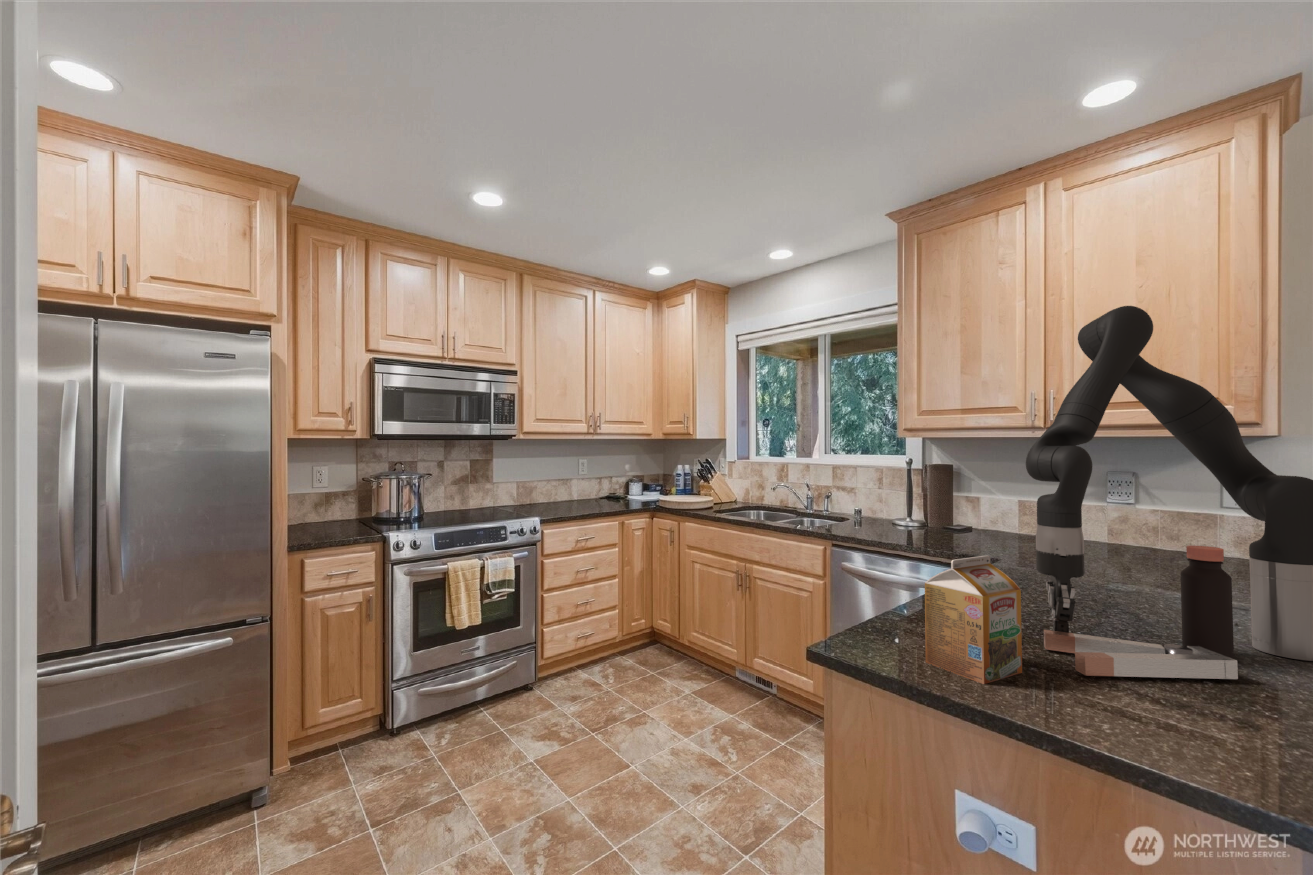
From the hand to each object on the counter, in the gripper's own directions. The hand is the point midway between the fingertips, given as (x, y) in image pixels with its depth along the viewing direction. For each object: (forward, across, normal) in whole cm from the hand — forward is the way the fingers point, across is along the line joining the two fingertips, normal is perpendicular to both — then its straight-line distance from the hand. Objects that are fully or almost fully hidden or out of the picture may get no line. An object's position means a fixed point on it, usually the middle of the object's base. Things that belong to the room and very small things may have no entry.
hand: (1061, 639), depth 106 cm
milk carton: (+2, +19, -16) cm, 25 cm away
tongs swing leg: (+1, +3, +7) cm, 8 cm away
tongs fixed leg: (+1, +8, +10) cm, 13 cm away
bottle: (+2, -7, +23) cm, 24 cm away
